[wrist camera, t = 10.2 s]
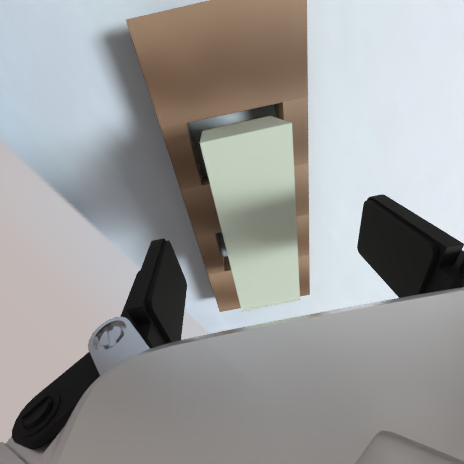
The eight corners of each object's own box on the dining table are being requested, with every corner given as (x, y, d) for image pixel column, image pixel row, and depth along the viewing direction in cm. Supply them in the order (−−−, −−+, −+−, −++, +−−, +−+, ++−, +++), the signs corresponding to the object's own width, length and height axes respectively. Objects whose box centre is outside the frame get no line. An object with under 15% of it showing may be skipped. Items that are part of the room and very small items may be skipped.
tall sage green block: (203, 124, 16) (199, 143, 10) (260, 112, 16) (292, 122, 10) (232, 251, 21) (241, 311, 15) (274, 242, 21) (300, 299, 15)
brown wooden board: (137, 29, 13) (125, 19, 11) (293, -6, 13) (306, -22, 11) (219, 296, 24) (220, 312, 23) (302, 280, 24) (309, 294, 22)
